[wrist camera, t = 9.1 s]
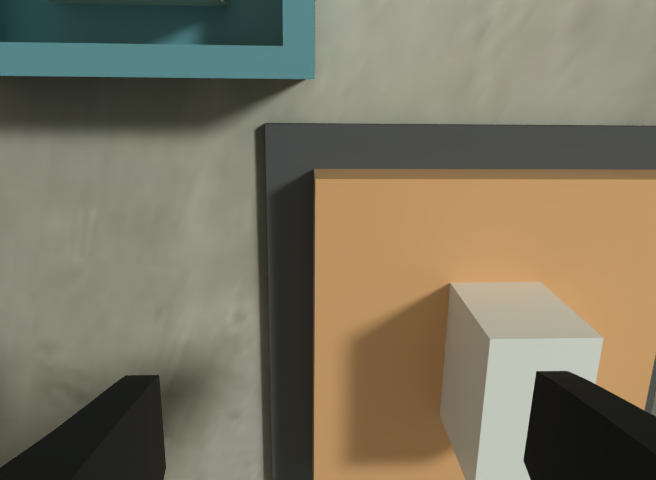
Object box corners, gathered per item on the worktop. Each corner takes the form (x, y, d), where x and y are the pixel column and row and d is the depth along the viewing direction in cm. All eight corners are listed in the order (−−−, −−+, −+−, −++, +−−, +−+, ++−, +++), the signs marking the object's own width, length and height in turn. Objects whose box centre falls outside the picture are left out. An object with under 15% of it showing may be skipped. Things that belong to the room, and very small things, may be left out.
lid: (312, 465, 22) (317, 597, 17) (313, 168, 19) (320, 211, 13) (603, 458, 23) (700, 583, 17) (656, 169, 20) (798, 210, 14)
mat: (273, 495, 23) (272, 503, 23) (265, 122, 19) (264, 124, 18) (629, 486, 24) (634, 493, 24) (701, 126, 20) (709, 127, 19)
